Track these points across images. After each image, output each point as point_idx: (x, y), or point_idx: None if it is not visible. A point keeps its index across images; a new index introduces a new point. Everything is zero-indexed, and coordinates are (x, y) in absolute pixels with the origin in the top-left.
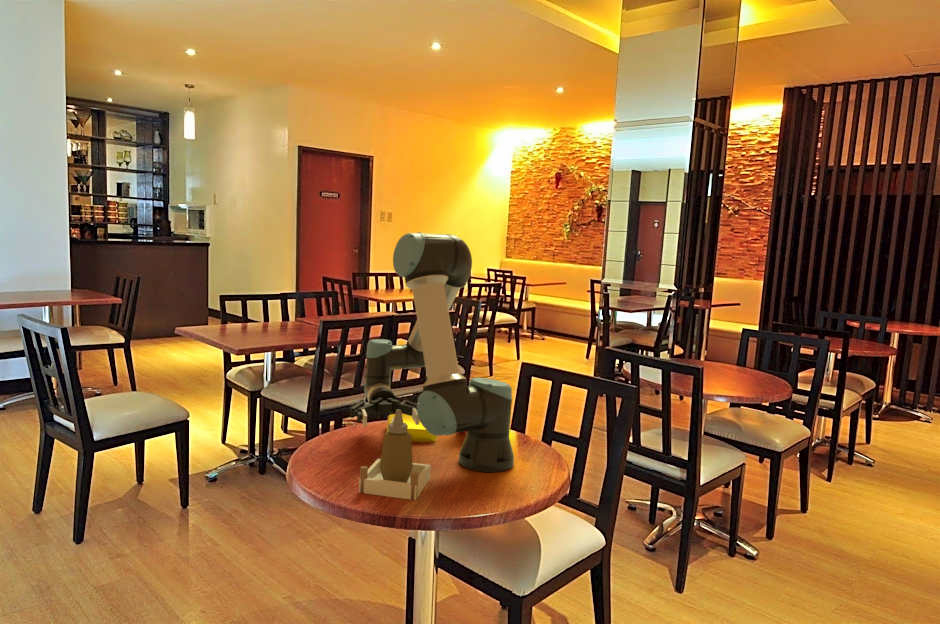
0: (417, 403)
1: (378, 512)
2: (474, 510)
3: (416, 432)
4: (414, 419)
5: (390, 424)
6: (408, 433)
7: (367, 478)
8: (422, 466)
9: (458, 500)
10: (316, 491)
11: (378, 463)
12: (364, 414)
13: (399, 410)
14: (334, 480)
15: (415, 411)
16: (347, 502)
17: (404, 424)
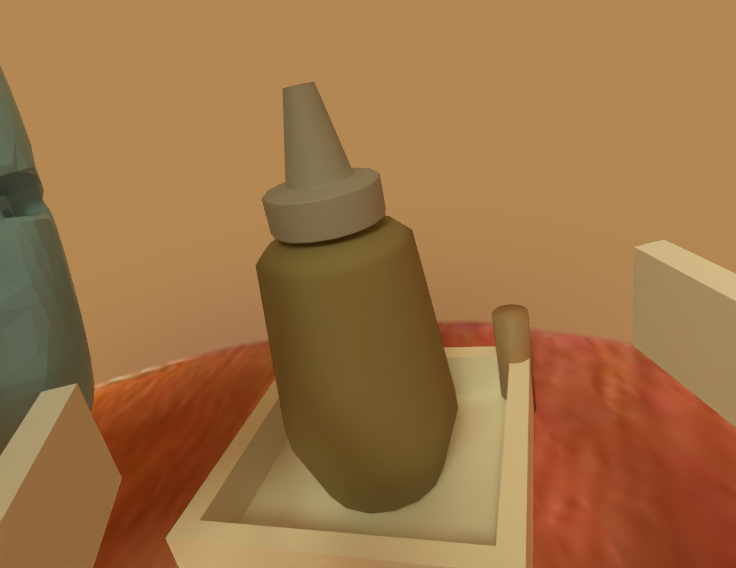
0: (42, 215)
1: None
2: (137, 387)
3: None
4: (75, 561)
5: (367, 172)
6: (268, 248)
7: (494, 352)
8: (219, 526)
9: (155, 425)
10: None
11: (499, 515)
12: (696, 261)
13: (294, 86)
14: (726, 472)
15: (8, 485)
16: (542, 343)
17: (281, 188)
